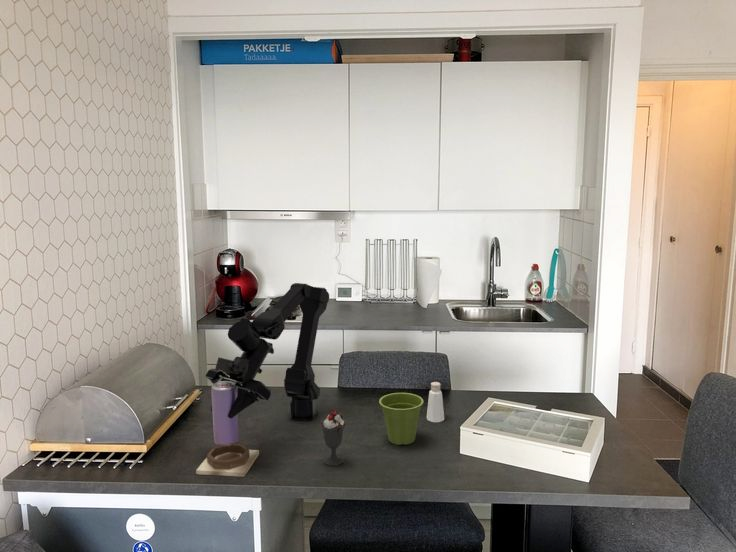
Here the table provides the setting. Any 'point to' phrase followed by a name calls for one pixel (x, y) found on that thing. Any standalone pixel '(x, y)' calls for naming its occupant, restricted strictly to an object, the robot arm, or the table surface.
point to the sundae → (333, 436)
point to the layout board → (228, 461)
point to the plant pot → (401, 416)
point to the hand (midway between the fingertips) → (220, 414)
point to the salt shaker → (435, 404)
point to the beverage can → (224, 413)
